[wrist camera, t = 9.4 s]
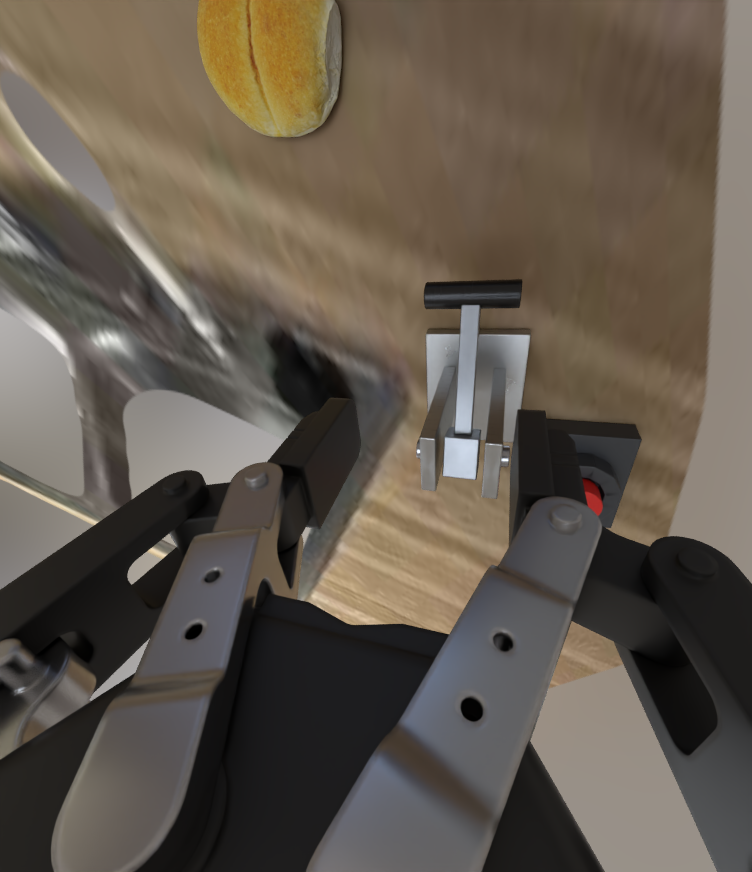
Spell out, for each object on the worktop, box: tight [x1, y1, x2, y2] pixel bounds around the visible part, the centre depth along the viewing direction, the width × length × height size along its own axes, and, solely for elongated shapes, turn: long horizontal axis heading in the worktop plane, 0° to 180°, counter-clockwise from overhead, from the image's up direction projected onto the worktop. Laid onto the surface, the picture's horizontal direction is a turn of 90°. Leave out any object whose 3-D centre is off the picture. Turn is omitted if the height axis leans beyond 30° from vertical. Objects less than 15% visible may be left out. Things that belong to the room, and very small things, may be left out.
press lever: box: [424, 279, 522, 480], centre depth 25 cm, size 12×6×2 cm, turn 6°
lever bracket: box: [416, 329, 531, 499], centre depth 29 cm, size 10×8×12 cm
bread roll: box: [197, 0, 342, 137], centre depth 23 cm, size 8×9×4 cm
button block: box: [546, 419, 642, 528], centre depth 34 cm, size 10×8×4 cm
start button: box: [582, 478, 603, 516], centre depth 32 cm, size 4×4×2 cm
